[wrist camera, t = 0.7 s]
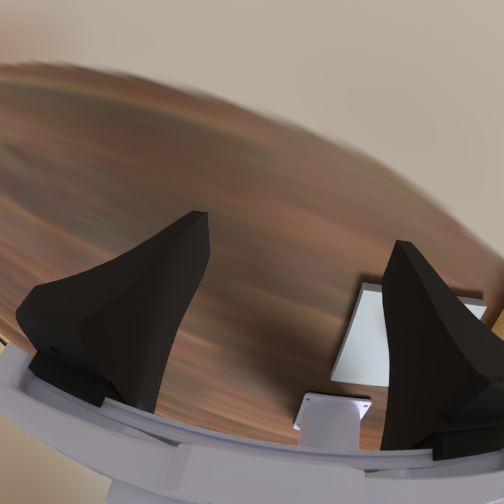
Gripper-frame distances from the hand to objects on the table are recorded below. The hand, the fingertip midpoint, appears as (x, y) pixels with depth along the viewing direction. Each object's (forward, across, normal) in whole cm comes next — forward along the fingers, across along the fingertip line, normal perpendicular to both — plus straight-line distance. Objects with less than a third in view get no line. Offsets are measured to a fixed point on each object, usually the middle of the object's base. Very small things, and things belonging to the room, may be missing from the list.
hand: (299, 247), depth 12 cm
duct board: (+8, -12, +15) cm, 21 cm away
